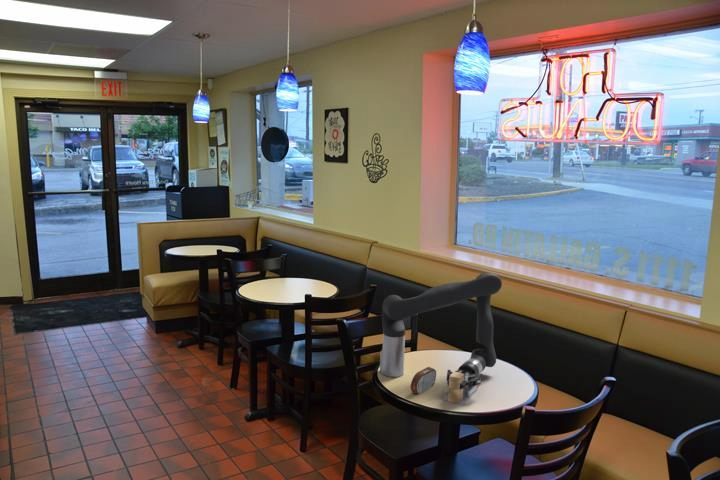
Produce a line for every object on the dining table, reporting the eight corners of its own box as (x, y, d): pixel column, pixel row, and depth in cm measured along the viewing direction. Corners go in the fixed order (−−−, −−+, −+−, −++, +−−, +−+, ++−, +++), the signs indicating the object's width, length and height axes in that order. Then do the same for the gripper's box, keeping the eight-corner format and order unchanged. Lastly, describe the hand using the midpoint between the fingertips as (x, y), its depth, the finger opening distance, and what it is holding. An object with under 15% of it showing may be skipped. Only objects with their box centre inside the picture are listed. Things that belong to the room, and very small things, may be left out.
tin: (430, 383, 222) (431, 363, 220) (437, 385, 220) (438, 365, 218) (409, 395, 210) (410, 374, 209) (416, 397, 208) (417, 377, 207)
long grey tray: (442, 401, 206) (442, 396, 205) (463, 380, 225) (463, 376, 225) (462, 406, 202) (463, 401, 201) (482, 385, 221) (482, 380, 221)
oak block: (447, 401, 205) (449, 375, 203) (452, 396, 209) (454, 371, 208) (458, 403, 203) (459, 378, 201) (462, 398, 207) (464, 373, 206)
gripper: (454, 357, 221) (437, 371, 207) (488, 365, 214) (473, 380, 199) (453, 375, 222) (436, 390, 208) (487, 383, 215) (472, 399, 201)
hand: (454, 385), depth 204 cm, fingers closed on oak block, 4 cm apart
